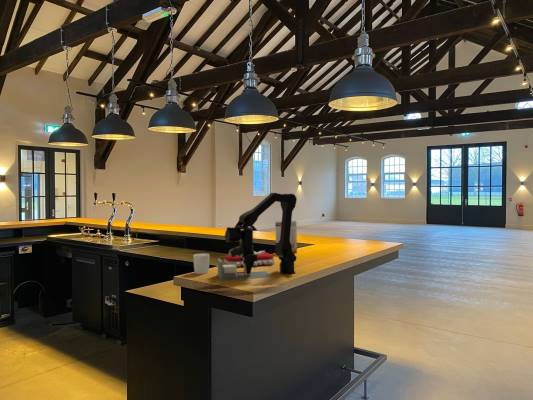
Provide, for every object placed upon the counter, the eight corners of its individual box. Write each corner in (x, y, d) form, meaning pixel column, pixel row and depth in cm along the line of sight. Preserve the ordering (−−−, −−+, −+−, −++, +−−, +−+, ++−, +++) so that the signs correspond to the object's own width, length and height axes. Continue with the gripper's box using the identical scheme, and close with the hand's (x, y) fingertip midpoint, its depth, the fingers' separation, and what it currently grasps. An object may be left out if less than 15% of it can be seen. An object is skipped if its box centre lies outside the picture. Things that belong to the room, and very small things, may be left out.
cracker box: (297, 251, 268) (296, 220, 268) (296, 252, 262) (296, 221, 262) (276, 251, 270) (275, 220, 269) (275, 252, 264) (275, 221, 263)
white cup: (210, 272, 202) (210, 253, 202) (208, 276, 194) (208, 255, 194) (194, 273, 202) (194, 253, 201) (192, 276, 194) (192, 256, 193)
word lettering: (265, 248, 242) (280, 255, 213) (265, 259, 242) (280, 268, 213) (220, 250, 234) (230, 258, 206) (221, 261, 235) (230, 271, 206)
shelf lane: (265, 273, 198) (265, 255, 198) (272, 279, 185) (272, 259, 184) (217, 276, 193) (217, 257, 192) (221, 283, 179) (220, 262, 179)
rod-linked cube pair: (249, 274, 192) (249, 262, 192) (251, 276, 186) (251, 264, 186) (222, 275, 189) (222, 264, 189) (224, 278, 183) (224, 266, 183)
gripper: (227, 239, 196) (227, 270, 196) (233, 243, 178) (233, 278, 178) (249, 238, 198) (250, 269, 199) (257, 242, 180) (258, 277, 181)
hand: (247, 273), depth 189 cm, fingers closed on rod-linked cube pair, 3 cm apart
